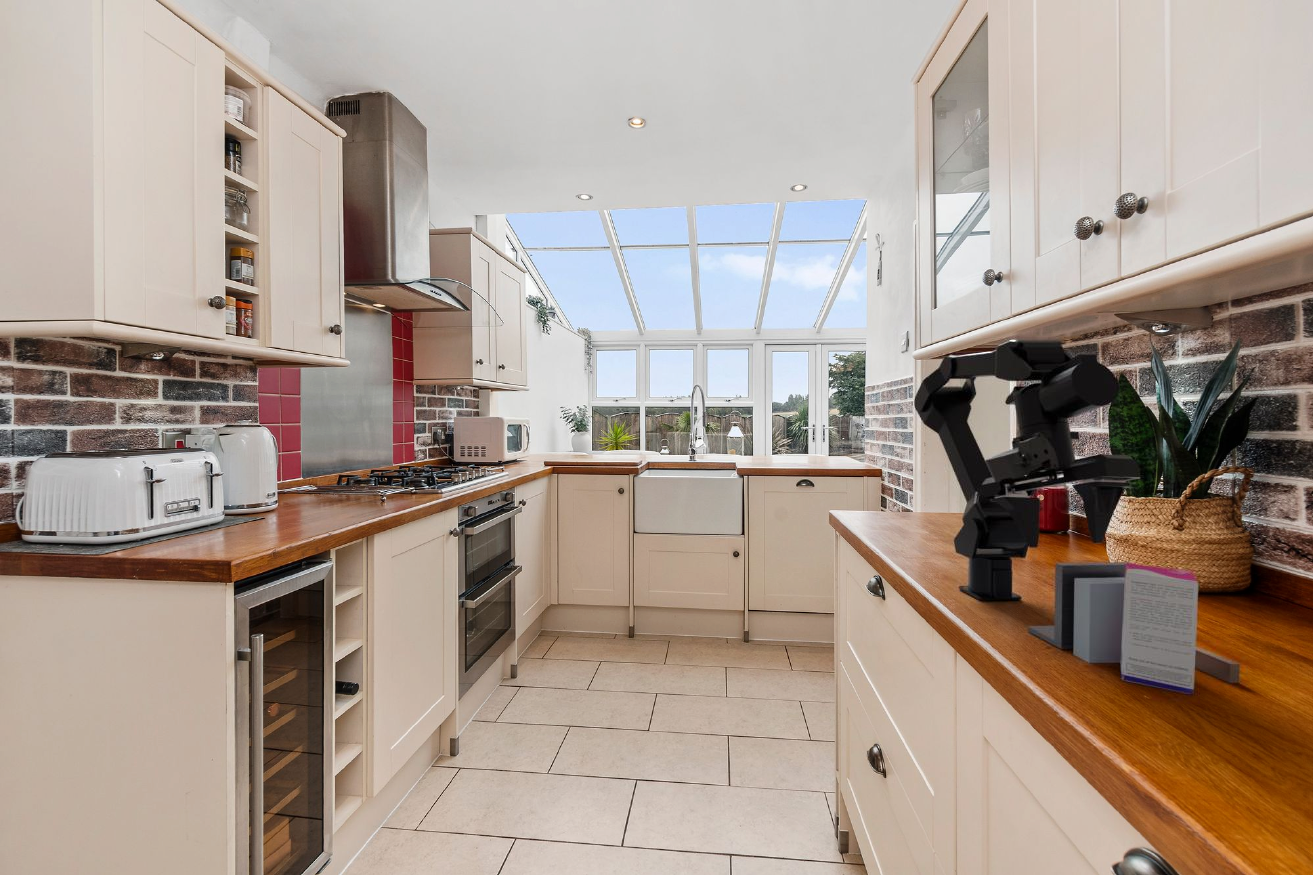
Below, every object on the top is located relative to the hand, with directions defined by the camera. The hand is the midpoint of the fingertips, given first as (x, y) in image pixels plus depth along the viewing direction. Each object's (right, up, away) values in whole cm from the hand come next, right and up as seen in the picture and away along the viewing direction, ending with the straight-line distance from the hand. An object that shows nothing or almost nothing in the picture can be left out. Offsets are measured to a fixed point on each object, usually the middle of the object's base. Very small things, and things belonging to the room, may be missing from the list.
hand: (1063, 545), depth 76 cm
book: (0, -11, -8) cm, 14 cm away
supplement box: (0, -12, -14) cm, 18 cm away
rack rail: (+7, -11, -7) cm, 15 cm away
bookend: (0, -11, -3) cm, 11 cm away
